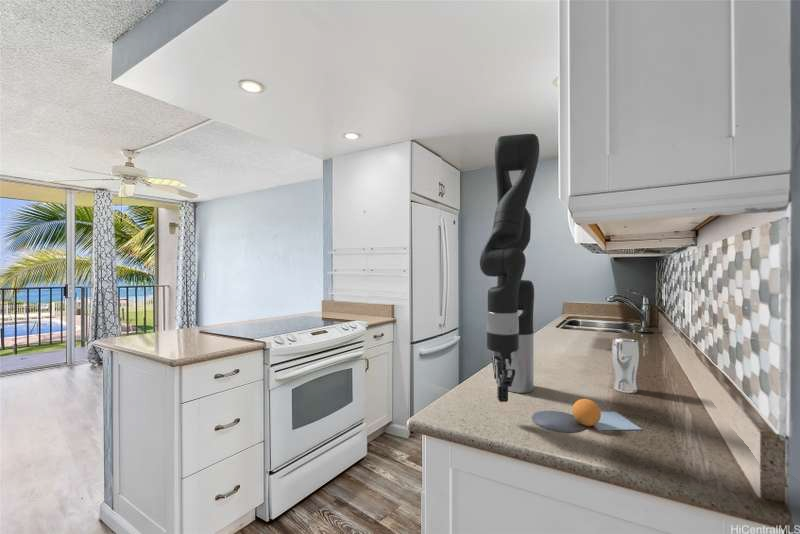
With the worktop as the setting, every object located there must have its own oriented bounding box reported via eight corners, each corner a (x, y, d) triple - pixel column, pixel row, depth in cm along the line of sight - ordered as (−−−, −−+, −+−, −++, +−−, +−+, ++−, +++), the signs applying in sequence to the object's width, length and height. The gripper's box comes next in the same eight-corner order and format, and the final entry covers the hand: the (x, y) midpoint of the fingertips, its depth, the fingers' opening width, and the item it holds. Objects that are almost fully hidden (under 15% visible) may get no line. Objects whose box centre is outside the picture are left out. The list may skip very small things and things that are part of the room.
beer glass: (638, 388, 113) (638, 339, 113) (639, 395, 107) (639, 343, 107) (612, 384, 116) (611, 337, 116) (611, 391, 110) (611, 341, 110)
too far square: (576, 412, 94) (576, 412, 94) (615, 412, 94) (615, 411, 94) (598, 430, 84) (598, 429, 84) (641, 429, 84) (641, 429, 84)
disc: (524, 411, 95) (524, 410, 95) (571, 411, 95) (571, 410, 95) (543, 432, 83) (543, 431, 83) (596, 432, 83) (596, 431, 83)
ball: (562, 408, 90) (578, 389, 90) (581, 422, 91) (597, 403, 90) (575, 421, 84) (591, 401, 84) (594, 436, 85) (611, 416, 84)
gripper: (527, 335, 83) (527, 412, 83) (510, 324, 96) (510, 390, 96) (493, 336, 83) (493, 412, 83) (481, 325, 96) (481, 390, 96)
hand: (502, 400), depth 90 cm, fingers closed
